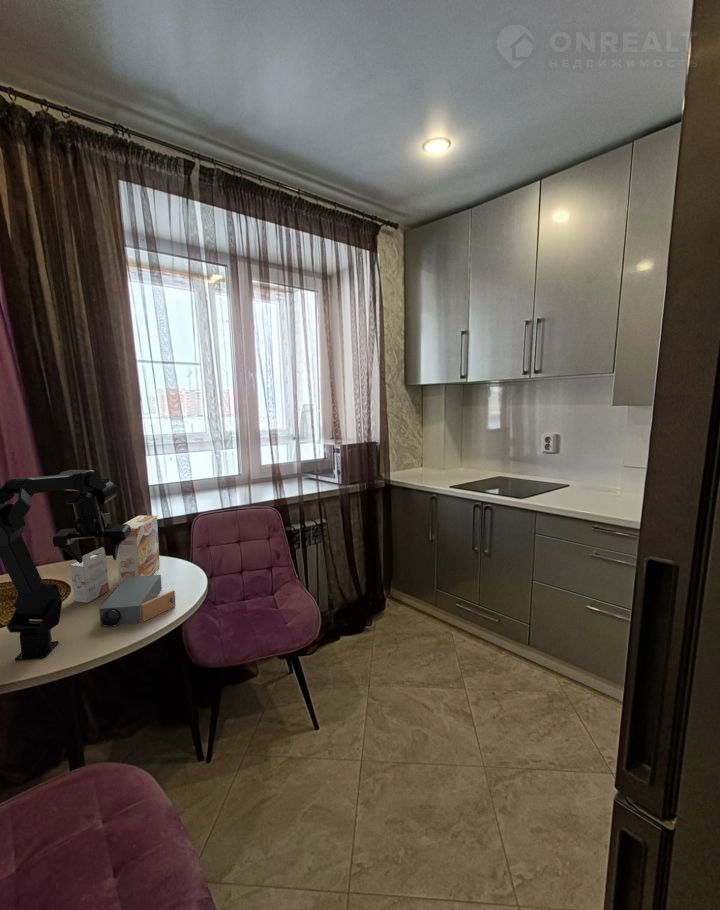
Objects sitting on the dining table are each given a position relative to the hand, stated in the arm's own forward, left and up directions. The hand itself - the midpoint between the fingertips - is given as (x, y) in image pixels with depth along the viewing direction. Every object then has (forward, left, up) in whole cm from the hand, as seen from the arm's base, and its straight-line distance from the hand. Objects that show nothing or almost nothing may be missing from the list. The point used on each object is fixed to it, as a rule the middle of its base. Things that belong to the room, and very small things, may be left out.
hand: (98, 560), depth 122 cm
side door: (-9, -18, -13) cm, 24 cm away
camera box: (-3, -10, -14) cm, 17 cm away
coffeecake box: (+19, -5, -14) cm, 24 cm away
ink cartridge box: (+6, +5, -14) cm, 16 cm away
